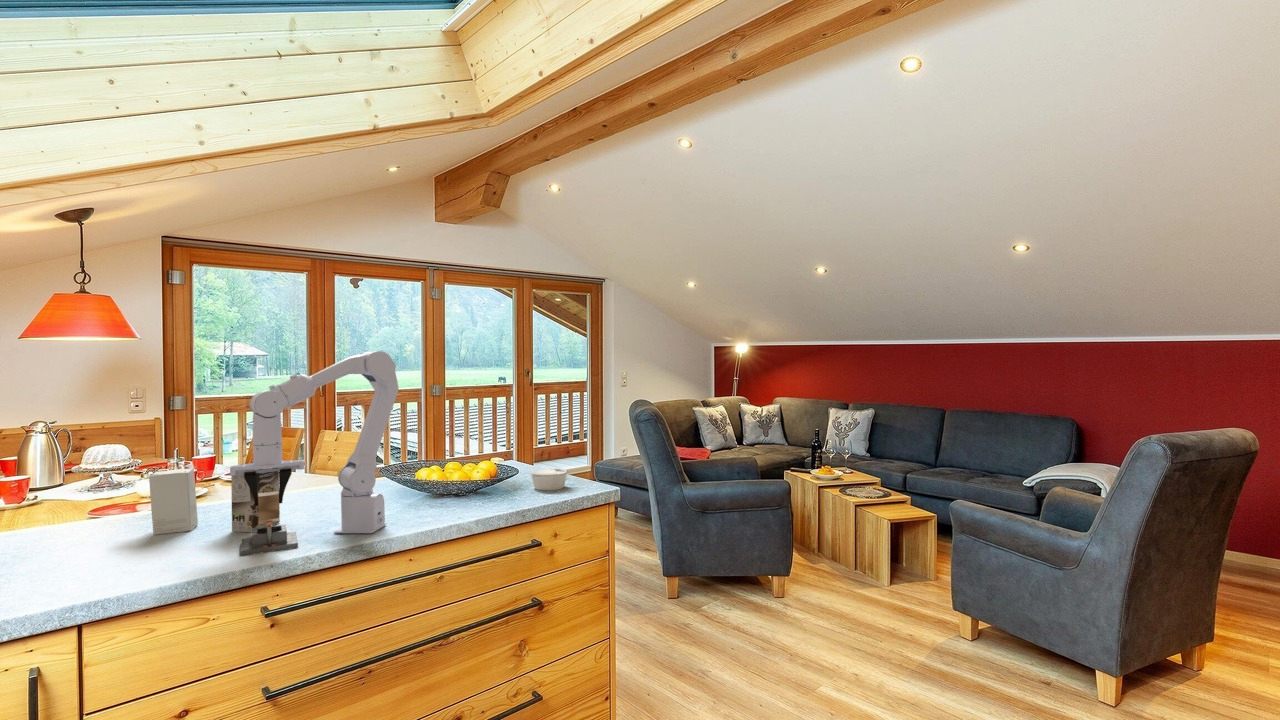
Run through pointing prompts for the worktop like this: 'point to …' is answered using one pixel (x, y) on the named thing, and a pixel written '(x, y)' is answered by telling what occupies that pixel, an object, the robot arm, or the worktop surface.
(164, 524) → the skincare box
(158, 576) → the worktop surface
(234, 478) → the coffee box
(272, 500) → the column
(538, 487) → the ramekin
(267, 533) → the sleeve stand
